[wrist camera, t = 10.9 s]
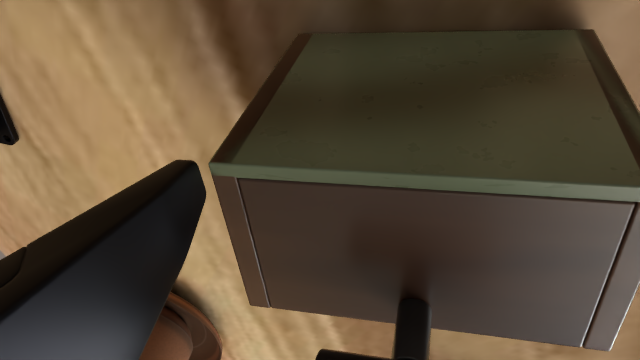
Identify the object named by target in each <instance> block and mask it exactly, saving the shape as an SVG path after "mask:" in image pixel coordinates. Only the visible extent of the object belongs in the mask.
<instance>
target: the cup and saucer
mask: <svg viewBox="0 0 640 360" xmlns="http://www.w3.org/2000/svg"><path fill="white" fill-rule="evenodd" d="M221 355H222V342H221V339H220V337H219V335H218V333H217V331H216V329H215V327H214V326H213V324H212V323H211V322H210V320H209V319H208V318H207V317H206V316H205V315H204V314H203V313H202V312H201V311H200V310H198V309H197V308H196V307H195V306H193V305H192V304H190V303H189V302H187V301H186V300H184V299H183V298H181V297H179V296H177V295H175V294H173V293H171V292H170V294H169V296H168V298H167V300H166V303H165V305H164V307H163V309H162V311H161V313H160V315H159V318H158V320H157V322H156V324H155V326H154V328H153V331H152V333H151V335H150V337H149V339H148V341H147V343H146V346H145V348H144V350H143V352H142V354H141V356H140V358H139V360H220V359H221Z"/></svg>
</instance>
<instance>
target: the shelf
mask: <svg viewBox="0 0 640 360" xmlns="http://www.w3.org/2000/svg"><path fill="white" fill-rule="evenodd" d="M209 168H210V171H211V174H212V178H213V181H214V184H215V188H216V191H217V195H218V198H219V201H220V205H221V208H222V212H223V215H224V218H225V222H226V225H227V228H228V232H229V235H230V239H231V242H232V245H233V249H234V252H235V256H236V259H237V262H238V266H239V269H240V272H241V276H242V279H243V283H244V286H245V289H246V293H247V296H248V300H249V303H250V305H251V306H258V307H266V308H270V306H271V307H272V308H277V309H285V310H292V311H300V312H308V313H316V314H324V315H331V316H339V317H347V318H355V319H363V320H370V321H378V322H386V323H394V324H396V325H395V333H394V341H393V348H392V356H391V359H390V358H383V357H376V356H369V355H363V354H356V353H349V352H342V351H335V350H328V349H321V350H320V351H319V352H318V354H317V356H316V359H315V360H429V351H430V335H431V328H433V329H441V330H448V331H456V332H464V333H472V334H480V335H487V336H495V337H503V338H511V339H519V340H526V341H534V342H542V343H550V344H557V345H565V346H573V347H581V346H583V348H586V349H594V350H602V351H610V350H611V348H612V346H613V343H614V341H615V339H616V337H617V334H618V332H619V330H620V327H621V325H622V323H623V321H624V318H625V316H626V314H627V312H628V309H629V307H630V305H631V302H632V300H633V298H634V296H635V293H636V291H637V289H638V287H639V284H640V112H639V110H638V109H637V107H636V105H635V103H634V101H633V100H632V98H631V96H630V94H629V92H628V91H627V89H626V87H625V85H624V83H623V82H622V80H621V78H620V76H619V74H618V73H617V71H616V69H615V67H614V65H613V63H612V62H611V60H610V58H609V56H608V54H607V53H606V51H605V49H604V47H603V45H602V44H601V42H600V40H599V38H598V36H597V35H596V33H595V31H594V30H593V29H586V30H523V31H459V32H395V33H331V34H298V35H297V36H296V37H295V39H294V40H293V42H292V43H291V45H290V46H289V48H288V49H287V50H286V52H285V53H284V55H283V56H282V58H281V59H280V61H279V62H278V63H277V65H276V66H275V68H274V69H273V71H272V72H271V73H270V75H269V76H268V78H267V79H266V81H265V82H264V84H263V85H262V86H261V88H260V89H259V91H258V92H257V94H256V95H255V97H254V98H253V99H252V101H251V102H250V104H249V105H248V107H247V108H246V110H245V111H244V112H243V114H242V115H241V117H240V118H239V120H238V121H237V123H236V124H235V125H234V127H233V128H232V130H231V131H230V133H229V134H228V136H227V137H226V138H225V140H224V141H223V143H222V144H221V146H220V147H219V149H218V150H217V151H216V153H215V154H214V156H213V157H212V159H211V160H210V162H209Z"/></svg>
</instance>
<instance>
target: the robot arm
mask: <svg viewBox="0 0 640 360" xmlns="http://www.w3.org/2000/svg"><path fill="white" fill-rule="evenodd" d="M18 140H19V136H18V134H17V132H16V129H15V127H14V125H13V123H12V120H11V118H10V116H9V113H8V111H7V109H6V106H5V104H4V102H3V99H2V97H1V95H0V143H2V144H7V145H13V144H15V143H16V142H17V141H18ZM205 199H206V190H205V186H204V183H203V180H202V177H201V174H200V170H199V167H198V165H197V163H196V162H194V161H192V160H175V161H173V162H171V163H170V164H168V165H166V166H164V167H163V168H161V169H159V170H157V171H156V172H154V173H152V174H150V175H149V176H147V177H145V178H143V179H142V180H140V181H138V182H136V183H135V184H133V185H131V186H129V187H128V188H126V189H124V190H122V191H121V192H119V193H117V194H115V195H114V196H112V197H110V198H108V199H107V200H105V201H103V202H101V203H100V204H98V205H96V206H94V207H93V208H91V209H89V210H87V211H86V212H84V213H82V214H80V215H79V216H77V217H75V218H73V219H72V220H70V221H68V222H66V223H65V224H63V225H61V226H59V227H58V228H56V229H54V230H52V231H51V232H49V233H47V234H45V235H44V236H42V237H40V238H38V239H37V240H35V241H33V242H31V243H30V244H28V245H27V247H22V248H21V249H19V250H17V251H16V252H14V253H12V254H10V255H9V256H7V257H5V258H3V259H1V260H0V360H139V358H140V356H141V354H142V352H143V350H144V348H145V346H146V343H147V341H148V339H149V337H150V335H151V333H152V331H153V328H154V326H155V324H156V322H157V320H158V318H159V315H160V313H161V311H162V309H163V307H164V305H165V303H166V300H167V298H168V296H169V294H170V292H171V290H172V288H173V285H174V283H175V281H176V279H177V277H178V275H179V272H180V270H181V268H182V266H183V264H184V261H185V259H186V256H187V253H188V251H189V248H190V245H191V242H192V239H193V236H194V233H195V230H196V227H197V224H198V221H199V218H200V215H201V212H202V209H203V206H204V203H205Z"/></svg>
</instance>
